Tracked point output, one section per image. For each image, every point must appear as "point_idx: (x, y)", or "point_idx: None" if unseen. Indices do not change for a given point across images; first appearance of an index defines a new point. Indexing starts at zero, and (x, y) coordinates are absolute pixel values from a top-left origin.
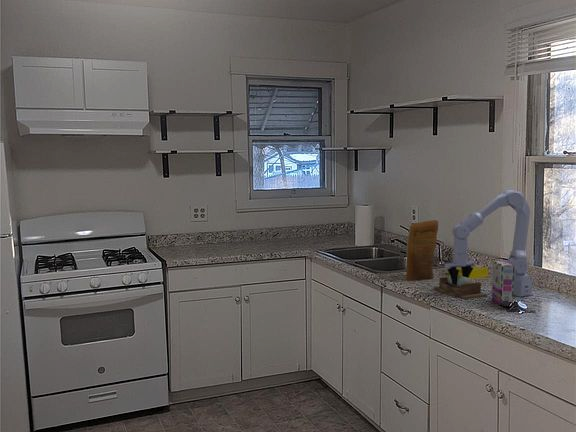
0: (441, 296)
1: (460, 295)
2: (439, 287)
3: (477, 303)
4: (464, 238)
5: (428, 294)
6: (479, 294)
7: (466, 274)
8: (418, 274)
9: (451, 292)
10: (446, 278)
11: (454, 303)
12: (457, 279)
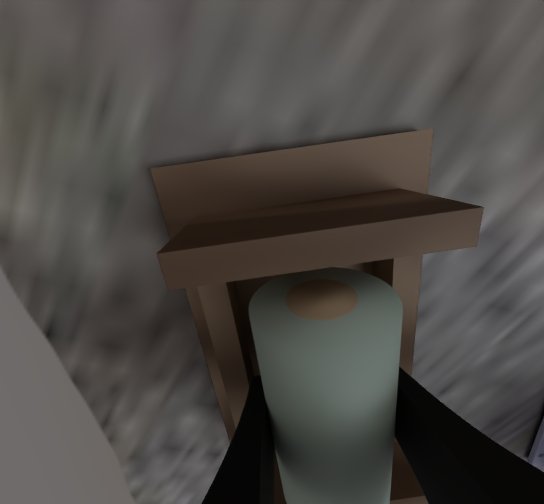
0: (136, 376)
1: None
2: (193, 218)
3: None
4: None
5: (56, 315)
6: None
7: (435, 500)
8: None
9: (219, 372)
10: (258, 272)
11: (154, 488)
12: (283, 463)
